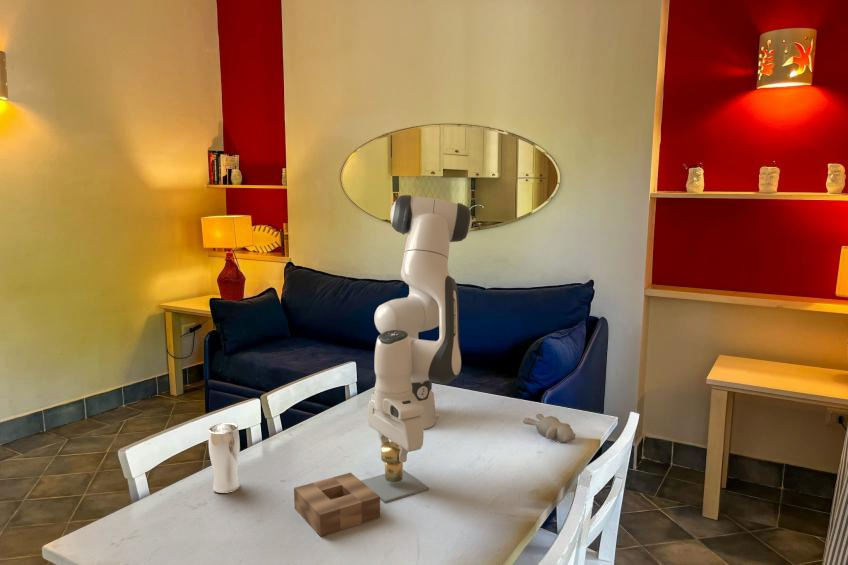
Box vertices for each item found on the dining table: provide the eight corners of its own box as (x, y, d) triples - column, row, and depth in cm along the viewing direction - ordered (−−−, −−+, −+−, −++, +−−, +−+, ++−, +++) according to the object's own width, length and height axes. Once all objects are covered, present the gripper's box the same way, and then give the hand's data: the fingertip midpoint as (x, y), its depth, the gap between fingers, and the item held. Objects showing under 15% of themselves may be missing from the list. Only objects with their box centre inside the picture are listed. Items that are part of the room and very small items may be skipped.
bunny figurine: (560, 434, 172) (521, 413, 183) (558, 451, 173) (519, 429, 184) (582, 426, 177) (542, 406, 189) (580, 442, 179) (540, 422, 190)
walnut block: (294, 508, 139) (293, 487, 138) (351, 491, 147) (350, 472, 146) (320, 536, 128) (319, 514, 127) (380, 517, 135) (380, 496, 134)
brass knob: (376, 476, 150) (376, 444, 149) (398, 470, 154) (397, 439, 152) (389, 486, 145) (389, 453, 144) (411, 479, 149) (411, 447, 147)
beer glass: (247, 484, 151) (244, 424, 149) (229, 497, 144) (226, 435, 142) (223, 479, 153) (220, 421, 151) (204, 492, 146) (201, 431, 144)
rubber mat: (360, 482, 151) (360, 480, 151) (402, 470, 158) (402, 468, 158) (384, 502, 141) (384, 500, 141) (428, 489, 148) (428, 487, 148)
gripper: (361, 390, 154) (361, 444, 156) (404, 415, 137) (404, 474, 139) (383, 386, 157) (383, 438, 159) (428, 409, 140) (428, 468, 142)
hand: (393, 455), depth 149 cm, fingers closed on brass knob, 6 cm apart
